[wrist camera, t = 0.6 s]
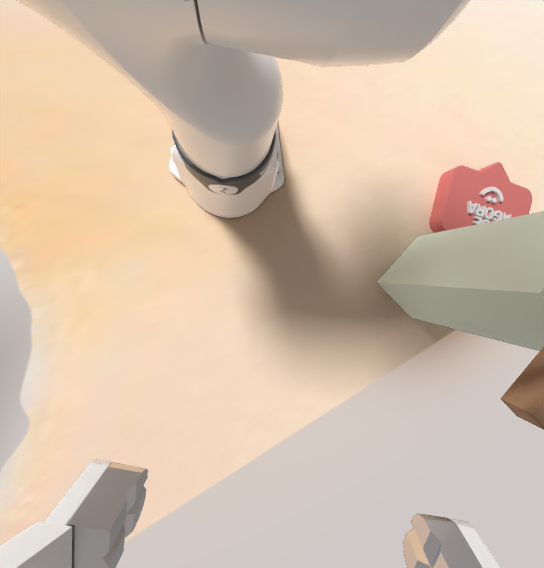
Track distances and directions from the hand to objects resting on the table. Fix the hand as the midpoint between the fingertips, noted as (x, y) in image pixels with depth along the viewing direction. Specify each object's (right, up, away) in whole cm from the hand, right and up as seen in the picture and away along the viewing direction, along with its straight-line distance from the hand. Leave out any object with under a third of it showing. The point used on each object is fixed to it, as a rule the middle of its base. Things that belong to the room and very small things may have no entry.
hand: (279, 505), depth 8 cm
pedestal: (+27, +8, +41) cm, 50 cm away
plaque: (+40, +22, +43) cm, 63 cm away
